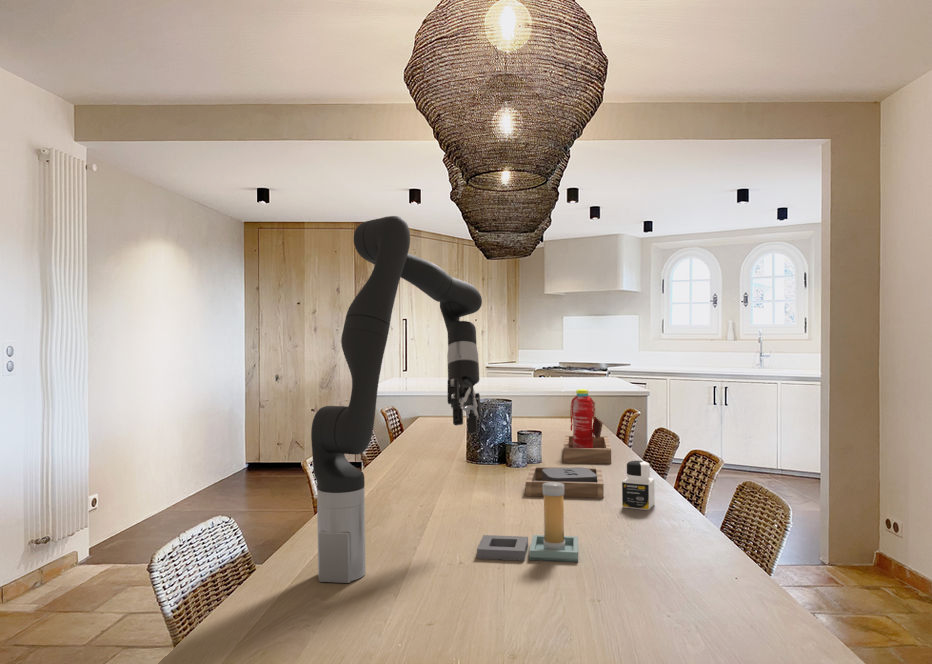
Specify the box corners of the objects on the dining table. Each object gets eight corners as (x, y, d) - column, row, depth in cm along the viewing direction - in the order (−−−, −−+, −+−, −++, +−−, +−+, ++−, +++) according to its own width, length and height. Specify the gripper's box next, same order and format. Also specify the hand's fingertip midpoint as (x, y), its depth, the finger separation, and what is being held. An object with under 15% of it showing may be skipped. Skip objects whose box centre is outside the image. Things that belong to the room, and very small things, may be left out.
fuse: (564, 553, 146) (563, 486, 146) (543, 552, 146) (542, 486, 146) (565, 546, 150) (564, 482, 150) (544, 545, 151) (543, 481, 151)
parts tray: (578, 562, 142) (578, 552, 142) (529, 560, 144) (529, 550, 144) (578, 545, 153) (578, 536, 153) (533, 543, 154) (533, 534, 154)
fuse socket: (524, 560, 143) (524, 551, 143) (476, 558, 145) (476, 549, 145) (528, 545, 153) (528, 536, 153) (483, 543, 155) (483, 535, 155)
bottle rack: (611, 463, 245) (611, 449, 245) (563, 462, 248) (563, 448, 248) (607, 448, 275) (607, 436, 275) (565, 448, 277) (565, 435, 277)
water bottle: (602, 453, 264) (602, 388, 264) (603, 457, 256) (602, 390, 256) (571, 453, 266) (570, 388, 266) (570, 456, 258) (569, 390, 258)
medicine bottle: (622, 507, 185) (621, 462, 185) (628, 501, 191) (628, 458, 191) (648, 510, 181) (648, 465, 181) (654, 504, 188) (654, 460, 188)
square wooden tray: (603, 497, 196) (603, 483, 196) (526, 495, 199) (525, 481, 199) (601, 480, 217) (601, 468, 217) (531, 479, 221) (531, 466, 221)
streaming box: (599, 494, 201) (599, 476, 201) (550, 496, 199) (550, 478, 199) (586, 483, 215) (586, 467, 215) (540, 485, 214) (540, 468, 214)
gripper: (465, 351, 159) (468, 419, 153) (488, 370, 171) (491, 433, 165) (436, 357, 162) (437, 424, 155) (460, 375, 174) (463, 438, 167)
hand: (465, 429), depth 160 cm, fingers open, 8 cm apart
